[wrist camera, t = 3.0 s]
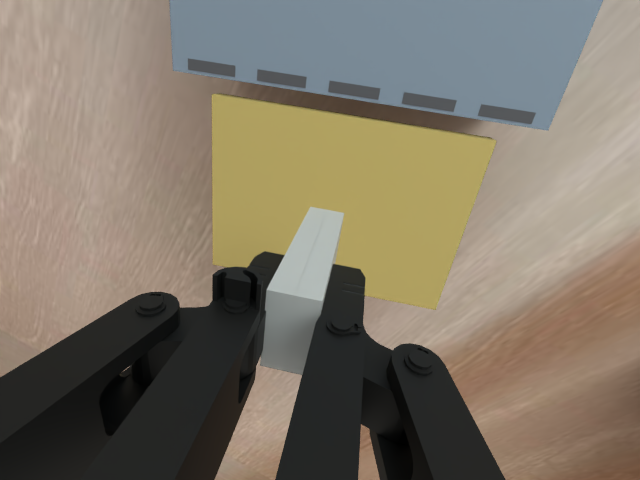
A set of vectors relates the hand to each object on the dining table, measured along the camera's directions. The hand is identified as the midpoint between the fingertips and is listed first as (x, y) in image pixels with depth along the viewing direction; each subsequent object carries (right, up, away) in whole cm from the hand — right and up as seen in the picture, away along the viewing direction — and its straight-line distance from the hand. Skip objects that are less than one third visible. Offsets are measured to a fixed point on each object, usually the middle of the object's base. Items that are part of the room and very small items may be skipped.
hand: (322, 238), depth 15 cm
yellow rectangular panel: (+1, +2, +4) cm, 5 cm away
